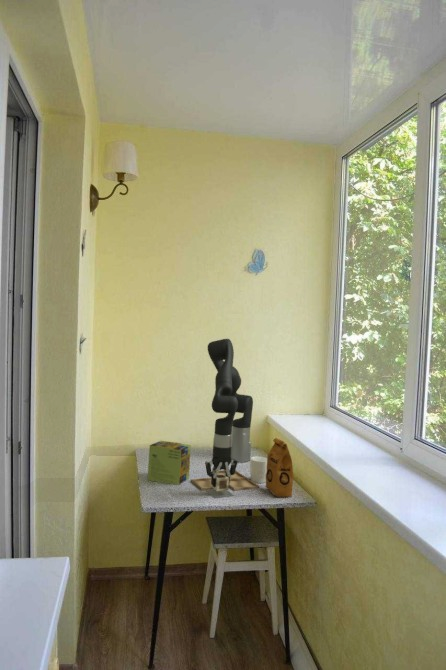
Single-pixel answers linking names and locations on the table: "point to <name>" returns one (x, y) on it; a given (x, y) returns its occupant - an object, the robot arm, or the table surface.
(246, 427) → the robot arm
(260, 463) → the white cup
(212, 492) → the slate tile
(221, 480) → the letter cube
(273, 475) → the coffee package
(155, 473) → the protein box
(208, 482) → the tray
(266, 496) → the table surface
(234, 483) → the tray
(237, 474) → the tray
